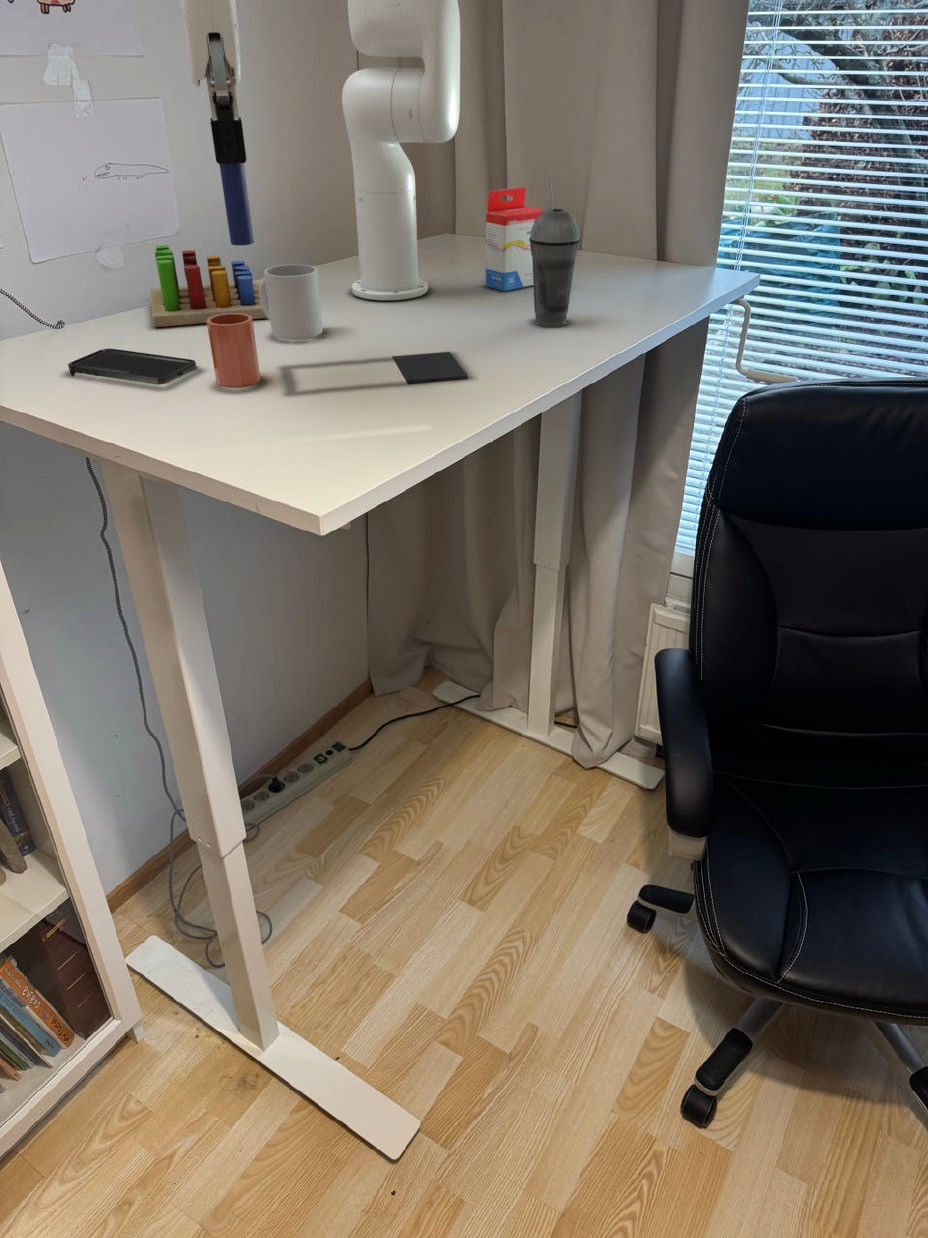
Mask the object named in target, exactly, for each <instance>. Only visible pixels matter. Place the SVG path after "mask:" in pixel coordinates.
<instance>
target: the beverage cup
mask: <svg viewBox="0 0 928 1238" xmlns="http://www.w3.org/2000/svg"><path fill="white" fill-rule="evenodd" d="M547 191H548V207H549V208H548V209H546V210H545V211H543V213H542V214H541V215H540V216H538V218H537V219H536V220H535V222H534V224H533V226H532V230H531V236H530V239H529V242H530V247H531V254H532V258H533V282H534V285H533V304H534V306H533V307H534V317H535V325H537V326H540V327H545V328H558V327H562V326H565V325H566V324H567V317H568V313H569V307H570V299H571V293H572V287H573V286H572V285H573V278H574V271H575V265H576V258H577V256H578V252H579V248H580V243H581V238H580V237H581V236H580V229H579V225H578V222H577V220H576V218H575V217H574V215H572V214H571V213H570V212H569V211H567V210H565V209H563V208H554V199H553V182H552V173H551V172H549V173H547Z"/></svg>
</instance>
